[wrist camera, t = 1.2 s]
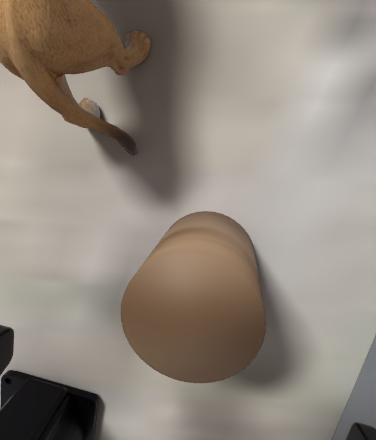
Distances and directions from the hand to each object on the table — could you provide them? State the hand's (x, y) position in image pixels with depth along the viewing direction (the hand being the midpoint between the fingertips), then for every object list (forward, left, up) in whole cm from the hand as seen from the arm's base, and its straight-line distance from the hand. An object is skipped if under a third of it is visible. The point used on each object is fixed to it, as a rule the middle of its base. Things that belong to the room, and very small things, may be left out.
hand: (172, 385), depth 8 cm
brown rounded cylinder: (0, 0, -9) cm, 9 cm away
